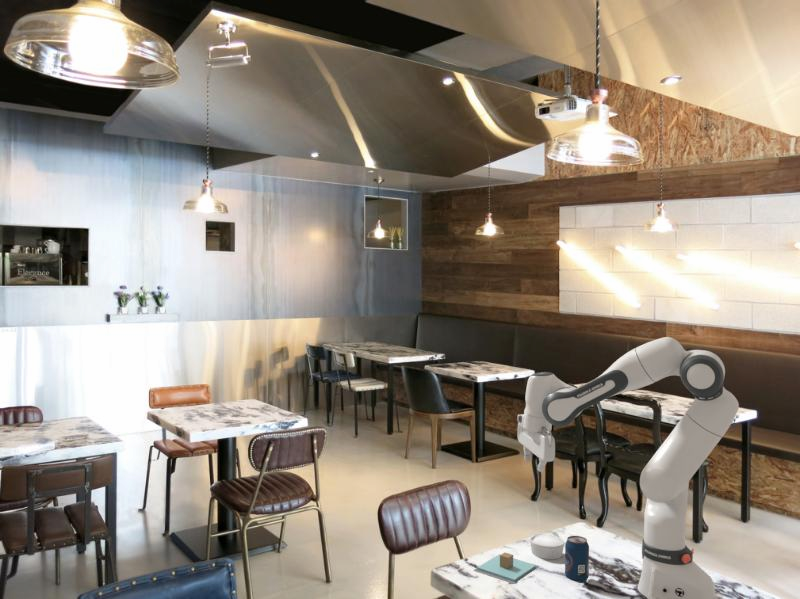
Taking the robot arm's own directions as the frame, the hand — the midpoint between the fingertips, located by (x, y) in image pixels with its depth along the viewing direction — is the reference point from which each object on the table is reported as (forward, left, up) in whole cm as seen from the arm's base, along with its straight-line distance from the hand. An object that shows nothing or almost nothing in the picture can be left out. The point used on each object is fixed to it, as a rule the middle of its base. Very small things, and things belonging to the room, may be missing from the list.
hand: (533, 465), depth 204 cm
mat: (+4, +9, -32) cm, 33 cm away
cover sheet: (+4, +9, -31) cm, 32 cm away
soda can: (-15, 0, -32) cm, 35 cm away
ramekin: (0, -10, -32) cm, 33 cm away
